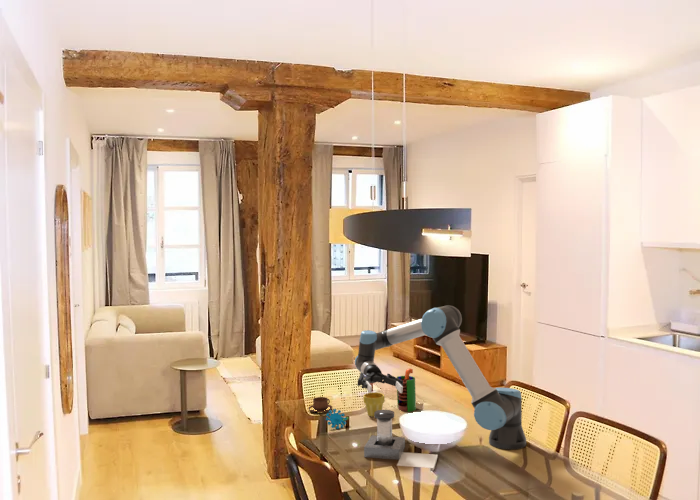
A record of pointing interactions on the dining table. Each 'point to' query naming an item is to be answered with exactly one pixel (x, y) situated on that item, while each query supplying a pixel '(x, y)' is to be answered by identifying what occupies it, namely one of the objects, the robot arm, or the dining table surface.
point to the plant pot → (373, 402)
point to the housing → (384, 448)
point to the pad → (418, 460)
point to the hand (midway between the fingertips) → (386, 389)
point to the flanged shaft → (384, 427)
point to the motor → (407, 393)
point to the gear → (336, 419)
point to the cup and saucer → (320, 404)
